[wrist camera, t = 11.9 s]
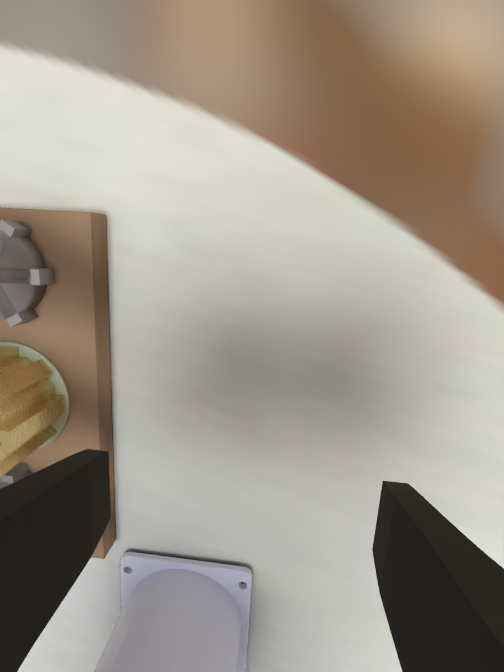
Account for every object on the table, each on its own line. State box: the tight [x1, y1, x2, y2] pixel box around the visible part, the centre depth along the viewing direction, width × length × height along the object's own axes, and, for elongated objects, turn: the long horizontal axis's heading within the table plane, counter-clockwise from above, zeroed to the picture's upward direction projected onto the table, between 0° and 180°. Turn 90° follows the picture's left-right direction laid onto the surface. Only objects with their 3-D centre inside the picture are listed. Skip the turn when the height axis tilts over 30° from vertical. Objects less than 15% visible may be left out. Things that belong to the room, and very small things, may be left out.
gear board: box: [0, 208, 116, 559], centre depth 19 cm, size 19×9×5 cm, turn 177°
